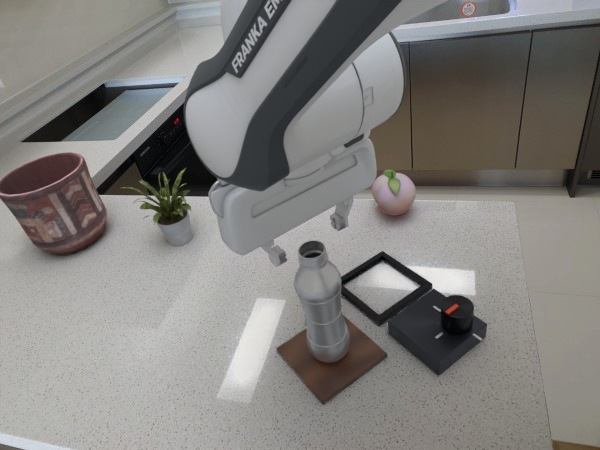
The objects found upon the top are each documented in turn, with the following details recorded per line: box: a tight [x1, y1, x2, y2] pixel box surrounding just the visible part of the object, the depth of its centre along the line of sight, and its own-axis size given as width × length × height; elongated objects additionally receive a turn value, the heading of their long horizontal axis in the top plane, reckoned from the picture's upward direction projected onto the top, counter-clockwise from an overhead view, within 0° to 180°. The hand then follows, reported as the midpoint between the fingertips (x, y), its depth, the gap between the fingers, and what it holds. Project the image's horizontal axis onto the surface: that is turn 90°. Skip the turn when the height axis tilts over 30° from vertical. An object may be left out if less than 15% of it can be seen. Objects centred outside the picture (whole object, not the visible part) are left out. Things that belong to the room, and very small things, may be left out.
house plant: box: [121, 167, 194, 247], centre depth 95 cm, size 14×14×16 cm
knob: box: [441, 294, 475, 334], centre depth 66 cm, size 4×4×4 cm
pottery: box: [0, 151, 108, 256], centre depth 101 cm, size 18×18×18 cm
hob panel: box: [387, 287, 488, 376], centre depth 68 cm, size 11×11×3 cm
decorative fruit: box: [371, 169, 417, 216], centre depth 93 cm, size 9×8×10 cm
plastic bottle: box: [293, 239, 350, 363], centre depth 63 cm, size 6×7×20 cm
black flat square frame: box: [341, 250, 433, 327], centre depth 79 cm, size 12×12×1 cm
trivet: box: [275, 314, 388, 405], centre depth 69 cm, size 12×12×1 cm
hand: (310, 244), depth 57 cm, fingers open, 8 cm apart
